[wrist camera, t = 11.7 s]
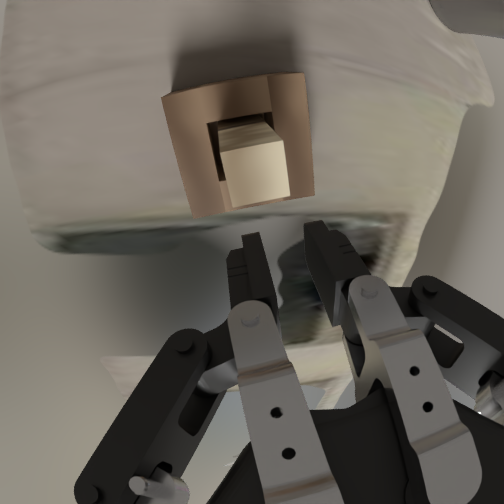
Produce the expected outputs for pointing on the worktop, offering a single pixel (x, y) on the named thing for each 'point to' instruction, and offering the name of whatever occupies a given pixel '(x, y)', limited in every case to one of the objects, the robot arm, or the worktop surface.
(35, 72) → the worktop surface
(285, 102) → the walnut block
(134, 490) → the robot arm
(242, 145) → the birch peg
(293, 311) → the worktop surface
